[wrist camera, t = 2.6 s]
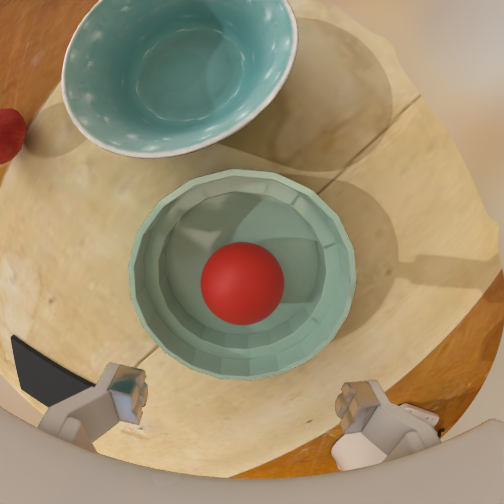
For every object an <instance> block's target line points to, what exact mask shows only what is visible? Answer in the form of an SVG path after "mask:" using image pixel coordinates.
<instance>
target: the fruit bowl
mask: <svg viewBox="0 0 504 504" xmlns="http://www.w3.org/2000/svg"><path fill="white" fill-rule="evenodd" d="M235 242H250V243H254V244H257V245H260V246H262V247H263V248H265V249H267V250H268V251H269V252H270V253H272V254H273V256H274V257H275V258H276V259H277V261H278V262H279V264H280V266H281V268H282V272H283V275H284V292H283V296H282V299H281V301H280V303H279V305H278V306H277V308H276V309H275V310H274V312H273V313H272V314H271V315H269V316H268V317H267V318H265V319H264V320H262V321H260V322H258V323H255V324H251V325H234V324H230V323H227V322H225V321H223V320H221V319H220V318H218V317H217V316H216V315H214V314H213V313H212V312H211V310H210V309H209V308H208V306H207V305H206V303H205V301H204V299H203V296H202V292H201V275H202V271H203V268H204V266H205V264H206V262H207V261H208V259H209V258H210V256H211V255H212V254H213V253H214V252H216V251H217V250H218V249H220V248H221V247H223V246H225V245H227V244H230V243H235ZM128 271H129V285H130V296H131V300H132V303H133V305H134V308H135V310H136V312H137V315H138V317H139V319H140V322H141V324H142V326H143V328H144V329H145V331H146V332H147V333H148V334H149V335H150V336H151V338H152V339H153V340H154V341H155V342H156V343H157V345H158V346H159V347H160V348H161V349H162V350H163V351H164V352H165V353H166V354H168V355H169V356H171V357H172V358H174V359H175V360H177V361H178V362H180V363H181V364H183V365H185V366H186V367H188V368H189V369H192V370H195V371H197V372H200V373H204V374H207V375H210V376H213V377H216V378H220V379H233V380H255V379H261V378H266V377H271V376H276V375H280V374H283V373H285V372H287V371H289V370H291V369H293V368H295V367H297V366H300V365H302V364H304V363H306V362H308V361H309V360H310V359H312V358H313V357H314V356H315V355H316V354H317V353H319V352H320V351H321V350H322V349H323V348H324V347H325V346H326V345H328V344H329V343H330V342H331V341H332V340H333V338H334V337H335V335H336V334H337V332H338V330H339V329H340V327H341V326H342V324H343V322H344V321H345V319H346V318H347V316H348V314H349V312H350V308H351V304H352V300H353V296H354V292H355V288H356V284H357V278H356V266H355V255H354V248H353V246H352V243H351V241H350V239H349V237H348V235H347V233H346V230H345V228H344V226H343V224H342V222H341V220H340V218H339V216H338V215H337V214H336V213H335V212H334V211H333V210H332V209H331V208H330V207H329V206H328V205H327V204H326V203H325V202H324V201H323V200H322V199H321V198H320V197H319V196H318V195H317V194H316V193H315V192H314V191H313V190H311V189H310V188H308V187H306V186H304V185H301V184H299V183H297V182H295V181H293V180H291V179H289V178H286V177H284V176H282V175H280V174H278V173H275V172H267V171H257V170H247V169H235V168H234V169H228V170H224V171H220V172H216V173H212V174H208V175H204V176H200V177H197V178H193V179H191V180H190V181H188V182H187V183H185V184H183V185H182V186H180V187H179V188H177V189H176V190H175V191H173V192H172V193H170V194H169V195H167V196H166V197H164V198H163V199H161V200H160V201H159V202H158V203H157V205H156V206H155V207H154V209H153V210H152V212H151V213H150V214H149V216H148V217H147V219H146V220H145V221H144V223H143V224H142V226H141V227H140V228H139V230H138V232H137V235H136V238H135V242H134V245H133V249H132V252H131V256H130V260H129V264H128Z"/></svg>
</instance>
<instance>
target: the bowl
mask: <svg viewBox="0 0 504 504" xmlns="http://www.w3.org/2000/svg"><path fill="white" fill-rule="evenodd" d="M297 48H298V26H297V22H296V18H295V15H294V12H293V10H292V8H291V6H290V4H289V2H288V1H287V0H100V1H99V2H97V3H96V4H95V5H94V7H93V8H92V9H91V10H90V11H89V12H88V14H87V15H86V16H85V17H84V19H83V20H82V21H81V23H80V24H79V26H78V28H77V29H76V31H75V33H74V35H73V37H72V39H71V41H70V43H69V46H68V48H67V51H66V55H65V58H64V63H63V69H62V93H63V99H64V103H65V106H66V109H67V111H68V114H69V116H70V117H71V119H72V121H73V123H74V124H75V125H76V127H77V128H78V130H79V131H80V132H81V133H82V134H83V135H84V136H85V137H86V138H87V139H89V140H90V141H92V142H93V143H95V144H96V145H98V146H99V147H101V148H103V149H105V150H107V151H110V152H113V153H116V154H119V155H123V156H127V157H133V158H142V159H157V158H167V157H174V156H179V155H183V154H187V153H191V152H194V151H197V150H200V149H203V148H206V147H208V146H211V145H213V144H215V143H217V142H219V141H221V140H223V139H225V138H227V137H229V136H231V135H232V134H234V133H235V132H237V131H238V130H240V129H242V128H243V127H245V126H246V125H247V124H249V123H250V122H251V121H252V120H253V119H255V118H256V117H257V116H258V115H259V114H260V113H261V112H262V111H263V110H264V109H265V108H266V107H267V106H268V105H269V104H270V103H271V102H272V101H273V99H274V98H275V97H276V95H277V94H278V93H279V91H280V90H281V88H282V87H283V85H284V84H285V82H286V80H287V78H288V77H289V74H290V72H291V70H292V67H293V65H294V61H295V58H296V54H297Z"/></svg>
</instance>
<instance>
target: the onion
mask: <svg viewBox="0 0 504 504" xmlns="http://www.w3.org/2000/svg"><path fill="white" fill-rule="evenodd" d="M25 138H26V124H25V121H24V119H23V117H22V116H21V114H20V113H19V112H18V111H16V110H14V109H0V164H4V163H6V162H8V161H10V160H11V159H13V158H14V157H15V156H16V155H17V154H18V152H19V151H20V150H21V148H22V145H23V143H24V141H25Z"/></svg>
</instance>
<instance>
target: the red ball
mask: <svg viewBox="0 0 504 504" xmlns="http://www.w3.org/2000/svg"><path fill="white" fill-rule="evenodd" d="M201 292H202V296H203V299H204V301H205V303H206V305H207V306H208V308H209V309H210V310H211V312H212V313H213V314H214V315H216V316H217V317H218V318H220V319H221V320H223V321H225V322H227V323H230V324H234V325H251V324H255V323H258V322H260V321H262V320H264V319H265V318H267V317H268V316H269V315H271V314H272V313H273V312H274V310H275V309H276V308H277V306H278V305H279V303H280V301H281V299H282V296H283V292H284V275H283V272H282V268H281V266H280V264H279V262H278V261H277V259H276V258H275V257H274V256H273V254H272V253H270V252H269V251H268V250H267V249H265V248H263V247H262V246H260V245H257V244H254V243H250V242H235V243H230V244H227V245H225V246H223V247H221V248H220V249H218V250H217V251H216V252H214V253H213V254H212V255H211V256H210V258H209V259H208V261H207V262H206V264H205V266H204V268H203V271H202V275H201Z"/></svg>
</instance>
